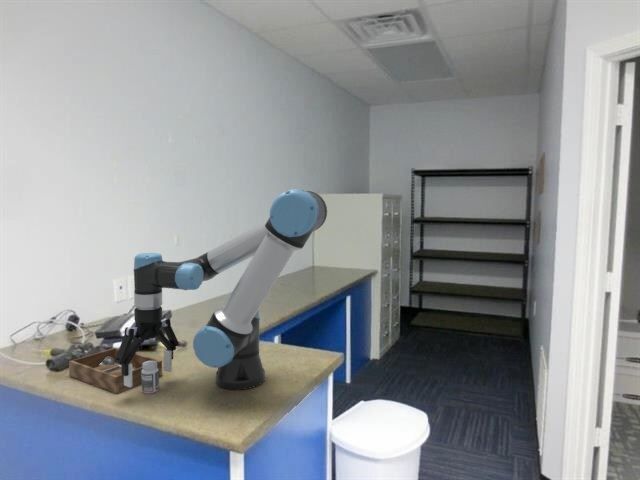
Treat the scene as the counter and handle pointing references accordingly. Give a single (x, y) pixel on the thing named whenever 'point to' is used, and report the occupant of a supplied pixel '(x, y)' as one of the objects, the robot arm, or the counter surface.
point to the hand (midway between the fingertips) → (148, 378)
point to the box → (108, 371)
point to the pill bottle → (150, 377)
